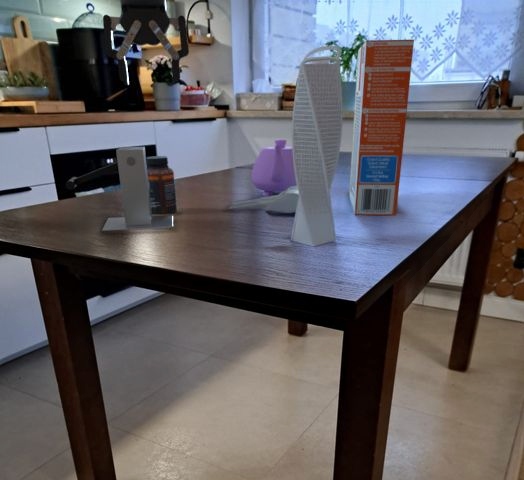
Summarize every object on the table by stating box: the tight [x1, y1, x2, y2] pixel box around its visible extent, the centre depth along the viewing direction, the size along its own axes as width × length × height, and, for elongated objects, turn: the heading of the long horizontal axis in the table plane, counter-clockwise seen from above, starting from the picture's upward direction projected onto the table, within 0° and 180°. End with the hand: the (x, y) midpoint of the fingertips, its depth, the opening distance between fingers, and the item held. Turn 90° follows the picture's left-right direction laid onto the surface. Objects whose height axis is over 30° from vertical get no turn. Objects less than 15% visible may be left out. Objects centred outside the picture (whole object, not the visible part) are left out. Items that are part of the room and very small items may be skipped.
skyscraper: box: [290, 45, 344, 247], centre depth 79 cm, size 8×8×28 cm
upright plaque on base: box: [101, 146, 174, 232], centre depth 91 cm, size 12×10×14 cm
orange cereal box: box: [348, 38, 415, 217], centre depth 106 cm, size 23×8×30 cm, turn 174°
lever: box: [65, 161, 119, 191], centre depth 89 cm, size 13×5×2 cm, turn 99°
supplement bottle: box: [146, 155, 178, 216], centre depth 101 cm, size 6×6×11 cm
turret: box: [228, 186, 299, 214], centre depth 106 cm, size 10×20×5 cm, turn 82°
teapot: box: [250, 139, 297, 197], centre depth 124 cm, size 20×14×12 cm
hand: (150, 84), depth 93 cm, fingers open, 8 cm apart
